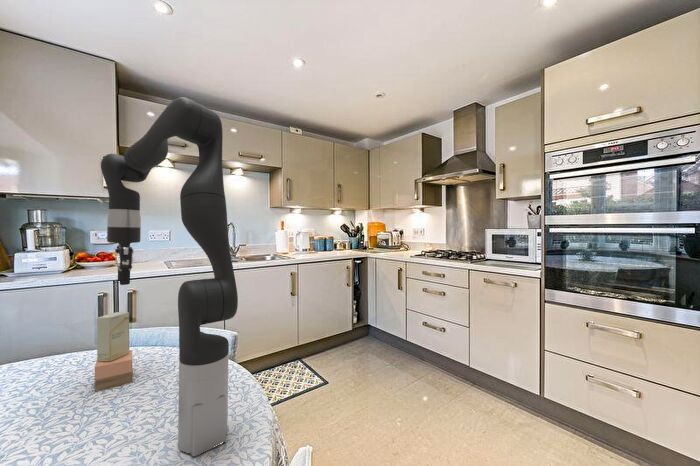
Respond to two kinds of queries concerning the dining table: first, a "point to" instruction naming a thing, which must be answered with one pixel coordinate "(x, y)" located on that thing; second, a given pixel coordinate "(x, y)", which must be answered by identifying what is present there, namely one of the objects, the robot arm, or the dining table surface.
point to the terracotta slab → (113, 366)
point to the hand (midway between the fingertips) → (123, 282)
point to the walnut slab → (113, 381)
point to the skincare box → (112, 336)
